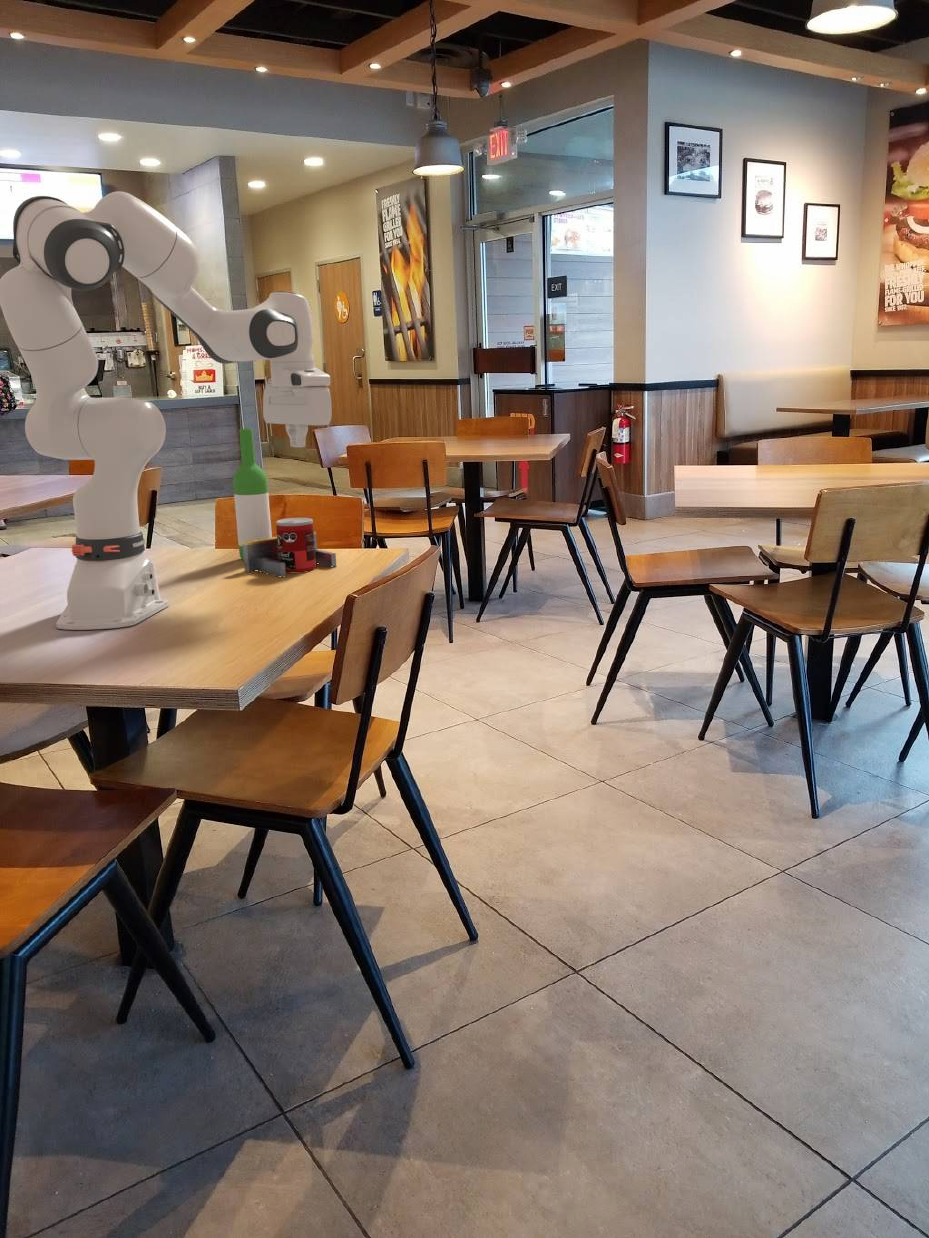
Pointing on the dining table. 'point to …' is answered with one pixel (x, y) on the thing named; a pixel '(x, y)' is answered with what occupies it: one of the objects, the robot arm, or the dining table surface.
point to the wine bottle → (250, 495)
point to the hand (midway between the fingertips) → (298, 447)
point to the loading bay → (275, 556)
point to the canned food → (296, 544)
